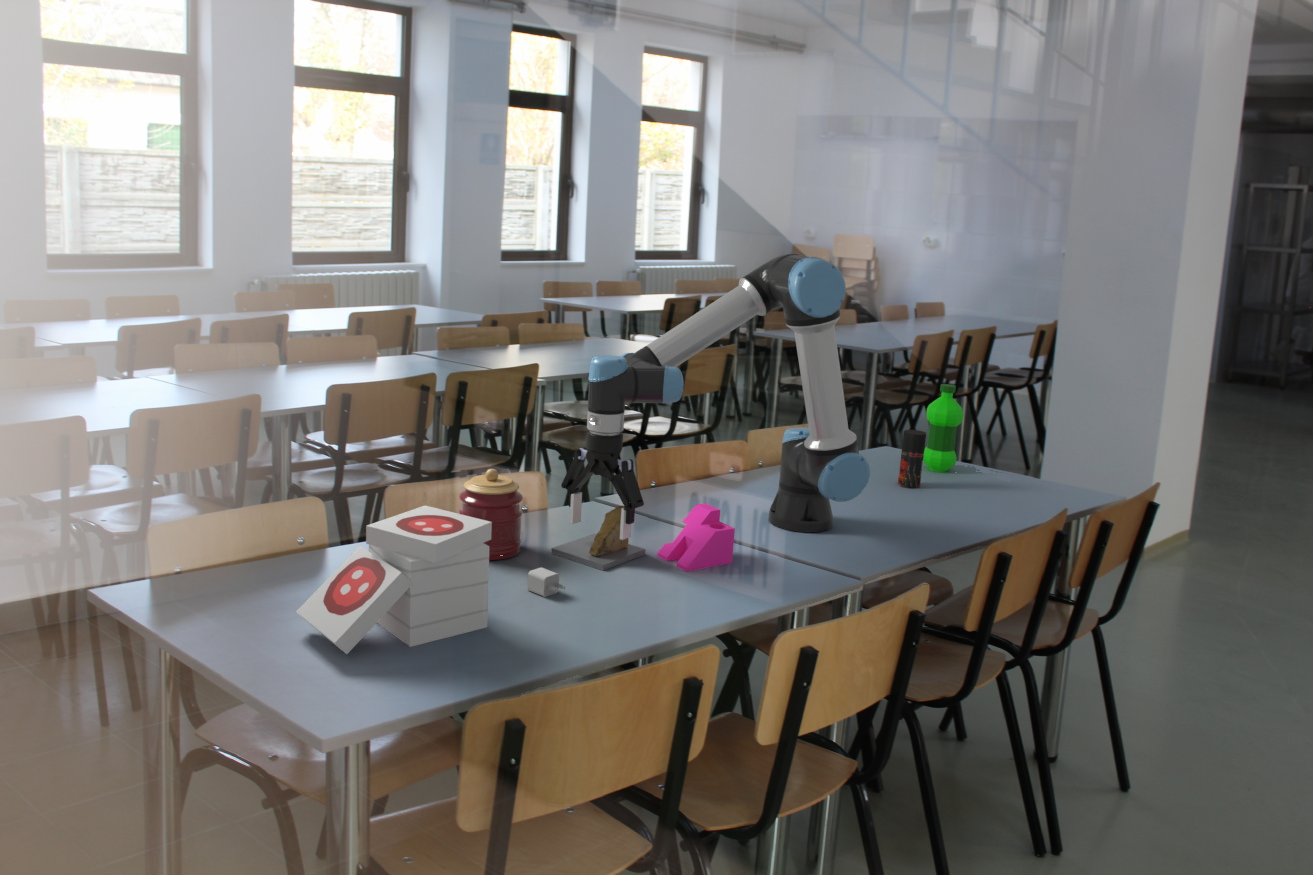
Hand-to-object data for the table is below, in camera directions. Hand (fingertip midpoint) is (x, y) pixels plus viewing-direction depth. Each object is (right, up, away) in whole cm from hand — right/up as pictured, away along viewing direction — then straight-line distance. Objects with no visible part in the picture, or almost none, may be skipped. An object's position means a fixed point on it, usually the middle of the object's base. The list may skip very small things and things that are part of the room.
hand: (599, 530), depth 227 cm
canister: (-23, -4, -1) cm, 23 cm away
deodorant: (+81, +6, +71) cm, 108 cm away
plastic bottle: (+94, +10, +90) cm, 130 cm away
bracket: (+20, -7, +2) cm, 21 cm away
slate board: (0, -5, +1) cm, 5 cm away
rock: (+2, -4, 0) cm, 5 cm away
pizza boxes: (-32, -13, -42) cm, 54 cm away
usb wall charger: (-9, -10, -22) cm, 26 cm away
